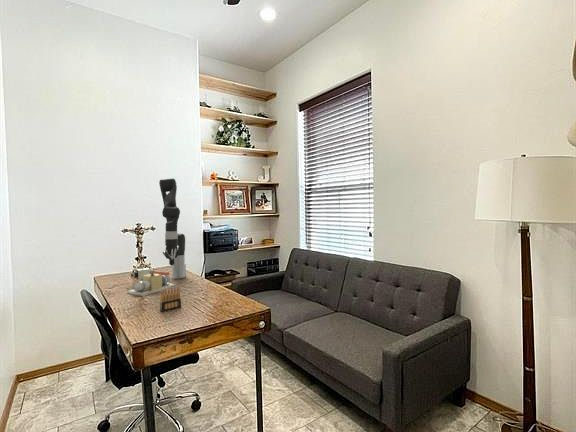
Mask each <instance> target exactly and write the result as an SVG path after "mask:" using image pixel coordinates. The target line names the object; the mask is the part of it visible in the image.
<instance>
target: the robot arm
mask: <svg viewBox="0 0 576 432" xmlns="http://www.w3.org/2000/svg"><path fill="white" fill-rule="evenodd" d="M159 187H160V193H161V196H162V201H163V209H162V212H161V213H162V217H163V218H165V220H166V223H165V233H164V237H165V238H164V240H165V241H164V243H165V245H164V246H165V250H164V251H162V254H163V256H164V257H165V258H166V260H168V264H169V266H171V278H172V279H174V280H175V279H177V280H178V279H184V278H185V277H187V275H186V274H187V265H186V263H185V262H186V261H185V259H186V257H185V252H186V236H185V234H184V233H179V232H178V220H179V218H180V215H181V210H180V208H179V207H177V199H176V197H177V188H178V187H177V182H176V179H175V178H172V177H170V178H161V179H160V180H159Z"/></svg>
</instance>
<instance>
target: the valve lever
mask: <svg viewBox="0 0 576 432" xmlns="http://www.w3.org/2000/svg"><path fill="white" fill-rule="evenodd" d="M150 273H154V274H161V275H162V276H164V275H165V276H167V275H168V276H169V275H170V271H167V270H165V271H164V270H163V271H162V270H156V269H152V270H150Z"/></svg>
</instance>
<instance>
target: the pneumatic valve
mask: <svg viewBox="0 0 576 432" xmlns="http://www.w3.org/2000/svg"><path fill="white" fill-rule="evenodd" d="M150 270H153V269H152V268H150V267H146V268H145V267H144V266H143V267H142V268H135V269H134V271H132V277H133V278H134V279H135V280H139V281H143V276H144V275H148V274H151V273H150ZM139 281H138V282H139Z"/></svg>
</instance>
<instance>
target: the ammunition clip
mask: <svg viewBox="0 0 576 432" xmlns="http://www.w3.org/2000/svg"><path fill="white" fill-rule="evenodd" d="M180 289H181V288H180V285H176V286H175V287H171V288H169V287H168V289H166V288H165V290H163V289H162V290H161V291H160V303H159V305H160V306H159V312H160V313H166V312H169V310H170V311H173V310H179V309H182V300H181V290H180ZM165 311H166V312H165Z"/></svg>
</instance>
